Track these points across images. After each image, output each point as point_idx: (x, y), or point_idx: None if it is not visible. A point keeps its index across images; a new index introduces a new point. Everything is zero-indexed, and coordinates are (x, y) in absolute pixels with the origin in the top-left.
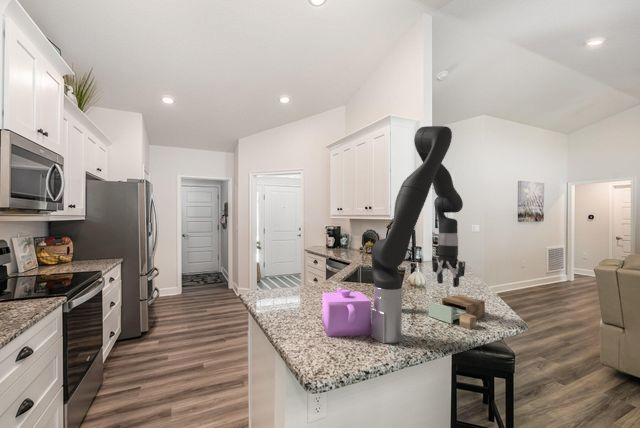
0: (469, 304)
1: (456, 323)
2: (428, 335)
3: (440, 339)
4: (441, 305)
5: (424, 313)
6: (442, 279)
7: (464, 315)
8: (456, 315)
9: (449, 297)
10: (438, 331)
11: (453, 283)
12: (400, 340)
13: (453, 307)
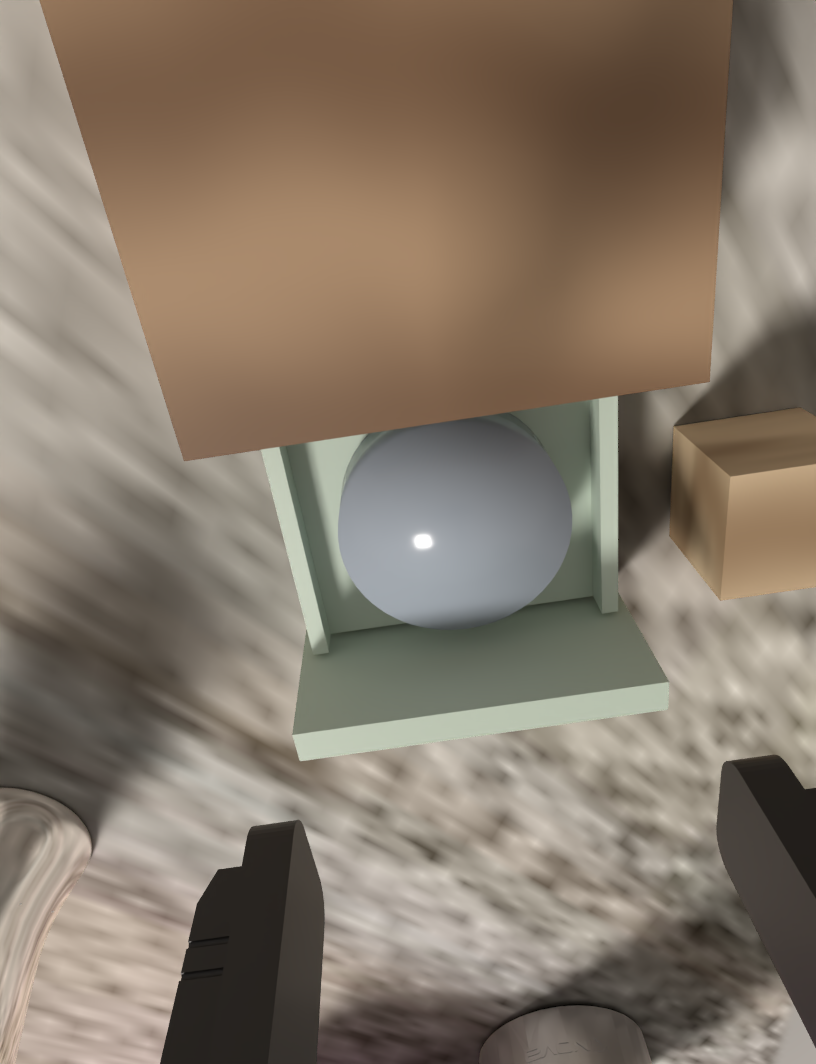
0: (700, 296)
1: None
2: (663, 872)
3: None
4: (513, 729)
5: (201, 602)
6: (289, 915)
7: (762, 558)
8: (616, 536)
9: (158, 260)
10: (652, 780)
11: (766, 927)
12: (639, 1028)
13: (451, 423)
